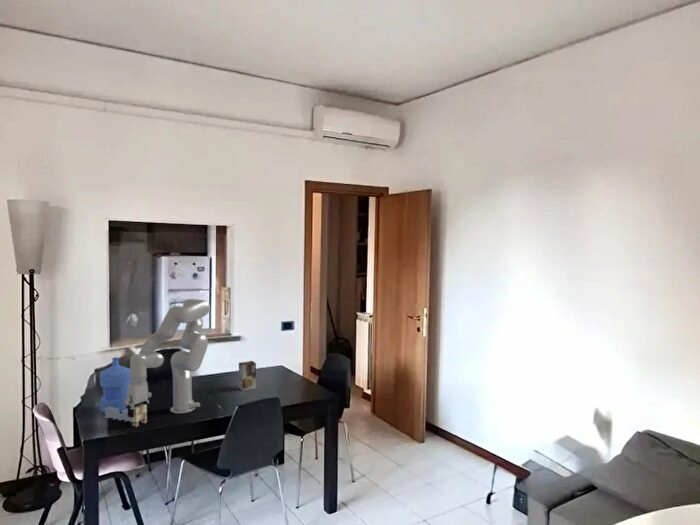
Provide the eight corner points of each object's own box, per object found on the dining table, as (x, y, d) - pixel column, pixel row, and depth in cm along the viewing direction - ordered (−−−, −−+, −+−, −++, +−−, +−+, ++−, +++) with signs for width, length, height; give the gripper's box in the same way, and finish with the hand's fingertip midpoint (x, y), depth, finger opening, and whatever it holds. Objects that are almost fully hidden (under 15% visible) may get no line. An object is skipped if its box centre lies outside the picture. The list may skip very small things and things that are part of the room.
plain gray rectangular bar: (136, 420, 256) (136, 410, 256) (132, 422, 254) (132, 412, 254) (109, 416, 263) (109, 406, 262) (105, 418, 260) (104, 408, 260)
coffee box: (252, 386, 317) (252, 360, 316) (256, 388, 311) (256, 362, 311) (238, 388, 312) (238, 362, 311) (242, 391, 306) (242, 364, 306)
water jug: (120, 403, 284) (119, 353, 283) (138, 407, 276) (137, 356, 275) (94, 411, 271) (92, 359, 270) (112, 416, 263) (111, 362, 262)
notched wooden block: (142, 421, 255) (142, 403, 255) (146, 422, 254) (146, 404, 254) (132, 426, 248) (131, 408, 248) (136, 427, 248) (136, 408, 247)
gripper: (145, 375, 260) (144, 408, 260) (118, 383, 243) (118, 418, 244) (156, 376, 257) (156, 410, 257) (131, 384, 241) (130, 420, 241)
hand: (138, 414), depth 250 cm, fingers open, 9 cm apart
